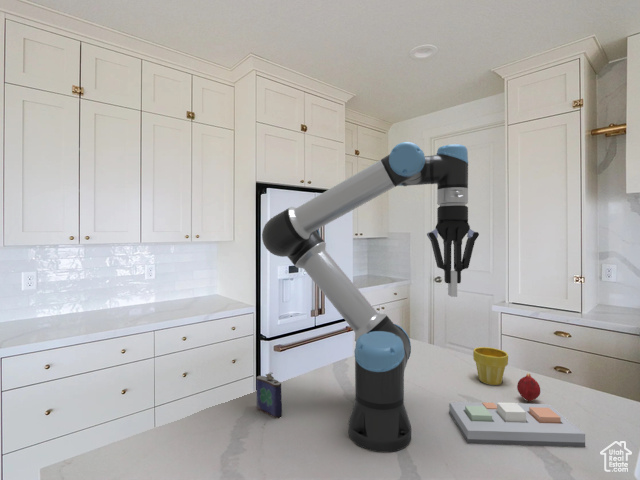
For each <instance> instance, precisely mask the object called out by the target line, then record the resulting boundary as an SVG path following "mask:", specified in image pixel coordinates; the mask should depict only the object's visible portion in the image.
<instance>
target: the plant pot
mask: <svg viewBox="0 0 640 480" xmlns="http://www.w3.org/2000/svg"><path fill="white" fill-rule="evenodd" d="M472 354H473V355H472V356H473V361H474V362H475V366H476V369H477V376H478V380H479V381H480V382H482V383H483V384H486V385H491V386H499V385H501V384H502V382H503V376H504V375H505V374H504V373H505V370H506V367H507V366H508V364H509V354H508V352H506V351H505V350H502V349H499V348H495V347H485V346H480V347H479V346H478V347H475V348H474V349H473V351H472Z"/></svg>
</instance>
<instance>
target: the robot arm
mask: <svg viewBox="0 0 640 480" xmlns="http://www.w3.org/2000/svg"><path fill="white" fill-rule="evenodd" d="M420 185H437V193H436V194H437V201H436V202H437V203H436V204H437V205H438V207H437V208H436V209H437V211H436V212H437V213H436V214H437V216H436V217H437V220H436V221H437V223H436V225H435V228H434V229H433V230H431V231H429V232H427V233H426V236H427V237H428V239H429V241H430V243H431V247H432V251H433V256H434V259H435V262H436V267H437V268H438V269H442V270H443V271H444V274H443V275H444V280H443V281H444V283H445V284H447V289H448V290H447V295H448V296H449V297H452V298H453V297H454V298H455V297H458V284H461V282H462V271H463V270H466V269H468V268H469V267H470V263H471V259H472V254H473V250H474V246H475V243H476V241H477V239H478V237H479V235H480V233H479V232H478V231H475V230H473V229H471V226H470V224H469V207H468V206H467V204H469V156H468V148H467V147H466V146H465V145H463V144H458V143H456V144H454V143H451V144H447V145H446V144H445V145H442V146H440V147H438V148H437V150H436V154H433V155H425V153H424V151H423V150H422V148H421V147H420V146H419V145H418V144H416V143H414V142H411V141H404V142H403V141H402V142H400V143H398V144H396V145H394V147H393V148H392V149H391V151H390V153H389V154H387V155H386V156H384V157H383V158H381V159H379V160H378V161H376V162H375V163H373V164H371V165H369V166H367V167H366V168H363V169H362V170H360V171H359V172H357V173H355V174H353V175H351V176H350V177H348V178H347V179H345V180H343V181H341V182H339V183H337V184H336V185H334V186H332V187H331V188H329V189H327V190H326V191H323V192H322V193H320V194H318V195H317V196H315V197H313V198H311V199H310V200H308V201H306V202H305V203H303V204H301V205H299V206H298V207H295V206H290V207H288V208H287V209H285V210H283V211H281V212H279V213H277V214H276V215H274V216H272V217H270V219H269V220H268V221H266V223H265V224H264V226H263V229H262V234H261V239H262V243H263V245H264V248H265V249H266V250H267V251H268V252H269V253H270V254H272V255H274V256H277V257H287V258H288V259H289V260H290V262H291V263H292V264H293V266H294V267H296V268H297V269H303V270H304V271H305V272H306V273H307V275H308V276H309V277H310V278H311V279H312V281H313V282H314V283H315V285H316V286H317V287H318V289H319V290H320V291H321V292H322V293H323V295H324V296H325V297H326V298H327V299H328V301H329V302H330V303H331V304H332V306H333V307H334V308H335V310H336V311H337V312H338V313H339V315H341V317H342V318H343V319H344V320H345V322H346V323H347V325H348V326H349V327H350V328H351V330H352V331H353V332H354V341H355V348H354V351H353V352H354V365H355V366H354V369H355V370H354V372H355V373H354V375H355V377H354V379H355V380H354V381H355V384H354V385H355V386H354V387H355V391H354V392H355V395H354V396H355V399H354V400H355V401H354V404H353V406H352V409H351V412H350V413H351V414H350V416H349V420H348V423H347V425H348V427H347V428H348V429H347V430H348V435H349V438H350V440H351V441H352V442H354V443H355V444H356V445H357V446H359V447H362V448H363V449H366V450H369V451H373V452H381V453H384V452H385V453H387V452H388V453H390V452H396V451H400V450H401V449H404V448H406V447H407V446H409V445H410V443H411V441H412V425H411V422H410V419H409V416H408V412H407V409H406V406H405V402H404V401H405V397H404V396H405V384H404V383H405V370H406V367H407V365H408V360H409V359H410V356H411V352H412V345H411V339H410V336H409V334H408V333H407V331H406V330H405V329H404V328H403V327H401V326H400V325H398V324H396V323H394V322H393V321H392V320H391V319H390V317H389V316H388V315H387V314H385V313H379V312H378V311H377V310H376V309H375V308H374V307H373V306H372V304H371V303H370V302H369V301H368V300H367V298H366V297H365V296H364V295H363V293H362V292H361V291H360V290H359V289H358V288H357V286H356V285H355V284H354V283H353V281H351V279H350V278H349V277H348V275H347V274H346V273H345V272H344V271H343V269H342V268H341V267H340V266H339V264H337V262H336V261H335V260H334V259H333V257H331V256H330V254H329V253H328V251H326V248H327V247H326V246H327V245H326V244H327V243H326V241H325V240H324V239H323V238H322V237H321V234H320V231H319V229H321V228H323V227H324V226H326V225H328V224H330V223H332V222H334V221H335V220H337V219H339V218H341V217H343V216H345V215H346V214H348V213H350V212H352V211H354V210H355V209H357V208H359V207H361V206H362V205H365V204H366V203H368V202H371V201H372V200H373V199H376V198H378V197H379V196H381V195H383V194H384V193H386V192H388V191H391V190H392V189H394V188H395V187H399V186H401V187H407V186H420ZM466 235H467V236H466ZM438 236H439V237H440V238H441V239H442V244H443V256H442V252H441V248H440V244H439V240H438ZM465 237H467V239H466V241H465V246H464V250H463V254H462V245H463V240H464V238H465ZM452 245H453V270H452Z"/></svg>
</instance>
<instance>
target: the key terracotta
mask: <svg viewBox="0 0 640 480" xmlns="http://www.w3.org/2000/svg"><path fill="white" fill-rule="evenodd" d="M529 414H530V415H531V416H532V417H533V418H534V419H535V420H537V421H538V422H539V423H558V424H561V417H559V416H558V415H557V414H556V413H555V412H553V411H552V410H551V409H550V408H540V407H529Z"/></svg>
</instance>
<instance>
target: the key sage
mask: <svg viewBox="0 0 640 480" xmlns="http://www.w3.org/2000/svg"><path fill="white" fill-rule="evenodd" d="M465 413H466V415H467V416H468V418H469V419H470V421H483V422H492V415H491V414H490V412H489V411H488V410H487V409H486V408H485V407H484V406H465Z"/></svg>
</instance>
